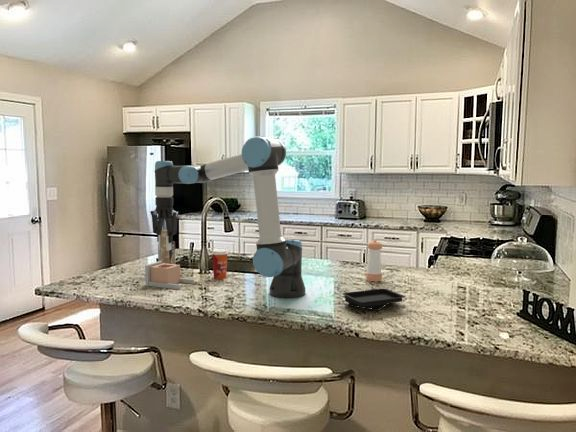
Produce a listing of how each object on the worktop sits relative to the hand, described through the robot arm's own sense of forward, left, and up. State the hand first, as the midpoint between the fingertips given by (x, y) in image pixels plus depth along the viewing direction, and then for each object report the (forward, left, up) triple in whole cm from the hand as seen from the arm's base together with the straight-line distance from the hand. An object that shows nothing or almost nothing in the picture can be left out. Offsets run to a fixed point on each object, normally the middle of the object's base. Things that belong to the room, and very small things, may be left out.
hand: (165, 249), depth 207 cm
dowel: (0, 0, -5) cm, 5 cm away
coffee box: (+13, -19, -17) cm, 28 cm away
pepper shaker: (-83, -48, -17) cm, 97 cm away
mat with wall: (-3, -4, -16) cm, 17 cm away
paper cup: (-16, -20, -17) cm, 31 cm away
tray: (-91, -7, -17) cm, 93 cm away
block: (0, 0, -15) cm, 15 cm away
